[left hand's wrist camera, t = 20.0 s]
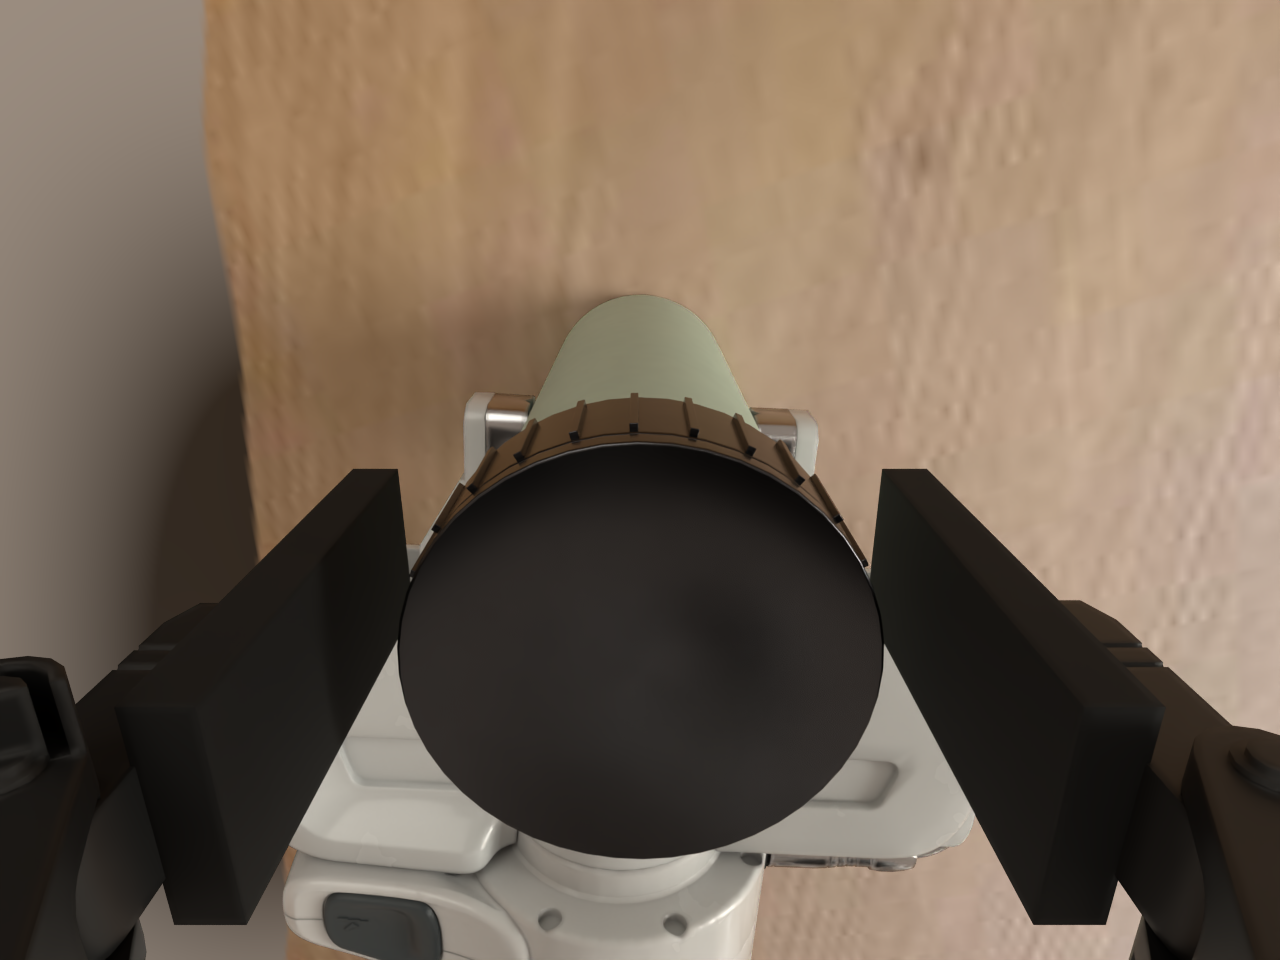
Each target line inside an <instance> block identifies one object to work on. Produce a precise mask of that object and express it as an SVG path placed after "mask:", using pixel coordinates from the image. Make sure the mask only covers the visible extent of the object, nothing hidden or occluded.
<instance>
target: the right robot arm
mask: <svg viewBox="0 0 1280 960" xmlns="http://www.w3.org/2000/svg"><path fill="white" fill-rule="evenodd" d="M534 403H535V396H529V395H515V394H501V393H495V392H475V393H474V394H473V395H472V397H471V398H470V399H469V401H468V402H467V403H466V408H465V414H464V423H463V430H464V473H463V475H462V477H461V478H460V480H459V482H458V483H457V485H456V486H455V488H454V490H455V489H456V487H457V486H458V484H459V483H461V484H463V485H465V484H466V483H467V481H468V480H469V479H470V478H471V476H472V475H473V474H474V473H475V472H476V470H477V468H478V467H479V465H480V463H481V461H482V460H483V458H484V456H485V454H486V453H487V451H488V450H489V449H490V448H491V447H492V446H493V447H494V448H495V449H496V450H497V449H498V448H499V447H500V446H502V445H503V444H504V443H505V442H507V441H508V440H510V439H511V438H512V437H514V436H515V435H517V434H518V433H520V432H521V431H522V428H523V426H524V424H525V422H526V420H527V418H528V416H529V414H530V412H531V410H532V408H533V406H534ZM749 410H750V412H751V414H752V416H753V418H754V420H755V422H756V424H757V426H758V429H759V431H760V432H761V433H763V434H765V435H766V436H768V437H769V438H771V439H772V440H774V441H775V442H776V443H777V442H778V440H779V439H781V440H782V441H783V442H784V443H785V444H786V446H787V447H788V449H789V451H790V453H791V455H792V456H793V458H794V459H795V460H796V461H797V462H798V463H799V464H800V465H801V467H802V468H803V469H804V470H805V471H806V472H807V473H808V475H809V476H810V477H811V476H812V475H814V469H815V462H816V455H817V448H818V440H819V439H818V425H817V421H816V420H815V419H814V417H813V416H812V415H811V414H810V412H809V411H808V410H794V409H776V408H752V407H750V408H749ZM454 490H453V491H452V493H451V495H452V494H453V492H454ZM451 495H450V496H449V498H448V500H449V499H450V497H451ZM448 500H447V501H446V503H445V505H446V504H447V502H448ZM445 505H444V506H443V508H442V510H443V509H444V507H445ZM442 510H441V511H440V513H439V514H438V516H437V518H436V519H435V521H434V523H433V524H432V526H431V528H430V529H429V531H428V533H427V534H426V536H425V537H424V539H423V541H422V542H421V544H420V545H412V544H406V546H407V555H408V564H409V573H410V572H411V569H412V568H413V566H414V564H415V563H416V561H417V559H418V558H419V556H420V554H421V552H422V551H423V549H424V547H425V546H426V544H427V542H428V541H429V539H430V537H431V536H432V534H433V532H434V531H432V530H431V529H432V527H433V525H434V524H435V522H436V520H437V519H438V517H439V515H440V514H441V512H442ZM865 570H866V572H867V574H868V576H869V579H870V573H871V568H865ZM411 580H412V577H410V582H411ZM397 642H398V640H397ZM397 642H396V644H395V646H394V648H393V650H392V652H391V654H390V655H389V657H388V659H387V661H386V663H385V665H384V667H383V669H382V670H381V672H380V674H379V676H378V678H377V680H376V682H375V684H374V686H373V687H372V689H371V691H370V693H369V695H368V697H367V699H366V701H365V703H364V704H363V706H362V708H361V710H360V712H359V714H358V716H357V718H356V719H355V721H354V723H353V725H352V727H351V729H350V731H349V733H348V735H347V736H346V738H345V740H344V742H343V744H342V746H341V748H340V750H339V752H338V753H337V755H336V757H335V759H334V761H333V763H332V765H331V767H330V768H329V770H328V772H327V774H326V776H325V778H324V780H323V782H322V784H321V785H320V787H319V789H318V791H317V793H316V795H315V797H314V799H313V800H312V802H311V804H310V806H309V808H308V810H307V812H306V814H305V816H304V817H303V819H302V821H301V823H300V825H299V827H298V829H297V831H296V833H295V834H294V836H293V838H292V840H291V842H290V844H289V846H290V847H292V848H294V849H296V850H297V852H296V855H295V858H294V860H293V863H292V866H291V869H290V872H289V875H288V878H287V881H286V884H285V887H284V890H283V901H282V903H283V912H284V917H285V920H286V923H287V925H288V927H289V928H290V929H291V931H293V932H294V933H295V934H296V935H297V936H299V937H300V938H302V939H304V940H306V941H308V942H311V943H314V944H316V945H320V946H323V947H327V948H330V949H334V950H337V951H341V952H345V953H348V954H352V955H356V956H359V957H362V958H366V959H369V960H751V955H752V948H753V942H754V935H755V928H756V921H757V914H758V906H759V900H760V894H761V887H762V880H763V873H764V869H765V868H766V866H768V867H773V866H774V867H792V868H827V867H828V868H831V867H836V866H837V867H842V866H855V867H868V869H870V870H875V871H884V872H895V871H904V870H908V869H912V868H914V866H915V864H916V860H917V858H922V857H928V856H931V855H934V854H937V853H939V852H941V851H943V850H945V849H947V848H949V847H955V846H958V845H960V844H962V843H963V841H964V840H965V839H966V838H967V836H968V835H969V833H970V831H971V829H972V826H973V822H974V818H975V814H974V812H973V810H972V808H971V806H970V804H969V802H968V800H967V799H966V797H965V795H964V793H963V791H962V789H961V787H960V785H959V784H958V782H957V780H956V778H955V776H954V774H953V772H952V770H951V768H950V767H949V765H948V763H947V761H946V759H945V757H944V755H943V753H942V752H941V750H940V748H939V746H938V744H937V742H936V740H935V738H934V736H933V735H932V733H931V731H930V729H929V727H928V725H927V723H926V721H925V719H924V718H923V716H922V714H921V712H920V710H919V708H918V706H917V704H916V703H915V701H914V699H913V697H912V695H911V693H910V691H909V689H908V687H907V686H906V684H905V682H904V680H903V678H902V676H901V674H900V672H899V670H898V669H897V667H896V665H895V663H894V661H893V659H892V657H891V655H890V654H889V652H888V650H887V648H886V646H885V644H884V665H883V674H882V679H881V684H880V690H879V695H878V699H877V702H876V705H875V707H874V710H873V713H872V716H871V719H870V722H869V724H868V726H867V728H866V730H865V732H864V734H863V736H862V738H861V740H860V742H859V744H858V745H857V747H856V749H855V750H854V752H853V753H852V754H851V756H850V757H849V759H848V760H847V762H846V763H845V764H844V766H843V767H842V769H841V770H840V771H839V772H838V773H837V774H836V775H835V776H834V778H833V779H832V780H831V781H830V782H829V783H828V784H827V785H826V786H825V787H824V788H823V789H822V790H821V791H820V792H819V793H818V794H817V795H815V796H814V797H813V798H812V799H811V800H810V801H808V802H807V803H806V804H805V805H804V806H803V807H801V808H800V809H798V810H797V811H795V812H794V813H792V814H791V815H789V816H788V817H786V818H785V819H783V820H782V821H780V822H779V823H777V824H775V825H773V826H771V827H769V828H767V829H765V830H763V831H762V832H760V833H758V834H756V835H754V836H751V837H749V838H746V839H743V840H741V841H738V842H736V843H733V844H731V845H728V846H724V847H721V848H717V849H713V850H710V851H706V852H702V853H698V854H691V855H685V856H679V857H673V858H658V859H622V858H610V857H603V856H596V855H589V854H584V853H580V852H576V851H572V850H568V849H564V848H560V847H557V846H554V845H551V844H549V843H546V842H543V841H540V840H538V839H535V838H532V837H530V836H528V835H526V834H524V833H522V832H520V831H518V830H516V829H514V828H512V827H510V826H508V825H506V824H504V823H503V822H501V821H500V820H498V819H497V818H495V817H494V816H492V815H490V814H489V813H487V812H486V811H484V810H483V809H482V808H480V807H479V806H478V805H477V804H475V803H474V802H473V801H472V800H471V799H469V798H468V797H467V796H466V795H464V794H463V793H462V792H461V791H460V790H459V789H458V788H457V787H456V786H455V785H454V784H453V782H452V781H451V780H450V779H449V778H448V777H447V776H446V775H445V774H444V773H443V772H442V770H441V769H440V768H439V766H438V765H437V764H436V762H435V761H434V760H433V758H432V757H431V755H430V754H429V753H428V751H427V750H426V748H425V746H424V744H423V742H422V741H421V739H420V737H419V735H418V733H417V731H416V730H415V728H414V725H413V723H412V720H411V717H410V715H409V712H408V709H407V707H406V704H405V701H404V696H403V692H402V687H401V682H400V678H399V670H398V654H397Z"/></svg>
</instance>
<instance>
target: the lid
mask: <svg viewBox="0 0 1280 960" xmlns="http://www.w3.org/2000/svg"><path fill="white" fill-rule="evenodd" d="M431 530H432V531H434V532H433V534H432V536H431V537H430V539H429V541H428V542H427V544H426V546H425V547H424V549H423V551H422V552H421V554H420V556H419V558H418V559H417V561H416V563H415V564H414V566H413V568H412V569H411V572H410V575H409V577H412V580H411V582H410V585H409V587H408V590H407V592H406V596H405V600H404V604H403V608H402V612H401V616H400V620H399V631H398V642H397V654H398V670H399V678H400V682H401V687H402V692H403V696H404V701H405V704H406V707H407V709H408V712H409V715H410V717H411V720H412V723H413V725H414V728H415V730H416V731H417V733H418V735H419V737H420V739H421V741H422V742H423V744H424V746H425V748H426V750H427V751H428V753H429V754H430V755H431V757H432V758H433V760H434V761H435V762H436V764H437V765H438V766H439V768H440V769H441V770H442V772H443V773H444V774H445V775H446V776H447V777H448V778H449V779H450V780H451V781H452V782H453V784H454V785H455V786H456V787H457V788H458V789H459V790H460V791H461V792H462V793H463V794H464V795H466V796H467V797H468V798H469V799H471V800H472V801H473V802H474V803H475V804H477V805H478V806H479V807H480V808H482V809H483V810H484V811H486V812H487V813H489V814H490V815H492V816H494V817H495V818H497V819H498V820H500V821H501V822H503V823H504V824H506V825H508V826H510V827H512V828H514V829H516V830H518V831H520V832H522V833H524V834H526V835H528V836H530V837H532V838H535V839H538V840H540V841H543V842H546V843H549V844H551V845H554V846H557V847H560V848H564V849H568V850H572V851H576V852H580V853H584V854H589V855H596V856H603V857H610V858H622V859H658V858H673V857H679V856H685V855H691V854H698V853H702V852H706V851H710V850H713V849H717V848H721V847H724V846H728V845H731V844H733V843H736V842H738V841H741V840H743V839H746V838H749V837H751V836H754V835H756V834H758V833H760V832H762V831H763V830H765V829H767V828H769V827H771V826H773V825H775V824H777V823H779V822H780V821H782V820H783V819H785V818H786V817H788V816H789V815H791V814H792V813H794V812H795V811H797V810H798V809H800V808H801V807H803V806H804V805H805V804H806V803H807V802H808V801H810V800H811V799H812V798H813V797H814V796H815V795H817V794H818V793H819V792H820V791H821V790H822V789H823V788H824V787H825V786H826V785H827V784H828V783H829V782H830V781H831V780H832V779H833V778H834V776H835V775H836V774H837V773H838V772H839V771H840V770H841V769H842V767H843V766H844V764H845V763H846V762H847V760H848V759H849V757H850V756H851V754H852V753H853V752H854V750H855V749H856V747H857V745H858V744H859V742H860V740H861V738H862V736H863V734H864V732H865V730H866V728H867V726H868V724H869V722H870V719H871V716H872V713H873V710H874V707H875V705H876V702H877V699H878V695H879V690H880V684H881V679H882V674H883V665H884V635H883V627H882V619H881V613H880V609H879V605H878V602H877V598H876V595H875V591H874V588H873V585H872V583H871V581H870V579H869V576H868V574H867V572H866V570H865V568H864V567H867V566H868V562H867V560H866V558H865V556H864V555H863V553H862V551H861V550H860V548H859V546H858V545H857V543H856V541H855V540H854V538H853V536H852V535H851V533H850V531H849V530H848V528H847V526H846V525H845V523H844V521H843V518H842V516H841V514H840V513H839V511H838V509H837V508H836V506H835V504H834V503H833V501H832V499H831V498H830V496H829V494H828V493H827V491H826V490H825V488H824V486H823V485H822V483H821V481H820V480H819V478H818V477H817V475H816V474H814V475H812V476H811V477H810V476H809V475H808V473H807V472H806V471H805V470H804V469H803V468H802V467H801V465H800V464H799V463H798V462H797V461H796V460H795V459H794V458H793V456H792V455H791V453H790V451H789V449H788V447H787V446H786V444H785V443H784V442H783V441H782V440H781V439H779V440H778V442H777V443H776V442H775V441H774V440H772V439H771V438H769V437H768V436H766V435H765V434H763V433H761V432H760V431H758V430H757V429H755V428H754V427H752V426H751V425H749V424H747V423H745V421H744V419H743V417H742V415H740V414H737V413H735V414H734V416H733V417H732V416H730V415H728V414H725V413H723V412H720V411H717V410H714V409H711V408H707V407H704V406H701V405H698V404H694V403H693V401H692V398H688V397H684V401H677V400H672V399H664V398H644V397H639V394H638V393H631V395H630V398H620V399H608V400H603V401H598V402H593V403H589V404H586V402H585V400H581V401H578V402H577V405H576V407H574V408H571V409H568V410H565V411H562V412H559V413H556V414H553V415H551V416H549V417H547V418H545V419H543V420H541V421H539V422H537V420H536V418H533V419H532V420H530V421H529V422H528V424H527V426H526V428H525V429H524V430H523V431H521V432H520V433H518V434H517V435H515V436H514V437H512V438H511V439H510V440H508V441H507V442H505V443H504V444H503V445H502V446H500V447H499V448H498V449H497V450H496V449H495V448H494V447H493V446H492V447H491V448H490V449H489V450H488V451H487V453H486V454H485V456H484V458H483V460H482V461H481V463H480V465H479V467H478V468H477V470H476V472H475V473H474V474H473V475H472V476H471V478H470V479H469V480H468V481H467V483H466V484H465V485H463V484H461V483H459V484H458V486H457V487H456V489H455V490H454V492H453V494H452V495H451V497H450V499H449V500H448V502H447V504H446V505H445V507H444V509H443V510H442V512H441V514H440V515H439V517H438V519H437V520H436V522H435V524H434V525H433V527H432V529H431Z"/></svg>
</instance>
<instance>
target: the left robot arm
mask: <svg viewBox="0 0 1280 960" xmlns="http://www.w3.org/2000/svg"><path fill="white" fill-rule="evenodd" d="M409 575H410V573H409V564H408V555H407V546H406V538H405V529H404V520H403V511H402V502H401V494H400V485H399V476H398V469H353V470H352V471H351V472H350V473H349V474H348V475H347V476H346V477H345V478H344V479H343V480H342V481H341V482H340V483H339V484H338V485H337V486H336V487H335V488H334V489H333V490H332V491H331V492H330V493H329V494H328V495H327V496H326V497H325V498H324V499H323V500H322V501H321V502H320V503H319V504H318V505H317V506H316V507H315V508H314V509H313V510H312V511H311V512H310V513H309V514H307V515H306V516H305V517H304V518H303V519H302V520H301V521H300V522H299V523H298V524H297V525H296V526H295V527H294V528H293V529H292V530H291V531H290V532H289V533H288V534H287V535H286V536H285V537H284V538H283V539H282V540H281V541H280V542H279V543H278V544H277V545H276V546H275V547H274V548H273V549H272V550H271V551H270V552H269V553H268V554H267V555H266V556H265V557H264V558H263V559H262V560H261V561H260V562H259V563H258V564H257V565H256V566H255V567H254V568H253V569H252V570H251V571H250V572H249V573H248V574H247V575H246V576H245V577H244V578H243V579H242V580H241V581H240V582H239V583H238V584H237V585H236V586H235V587H234V588H233V589H232V590H231V591H230V592H229V593H228V594H227V595H226V596H225V597H224V598H223V599H222V600H221V601H220V602H219V603H200V604H198V605H196V606H194V607H192V608H190V609H189V610H187V611H185V612H183V613H181V614H179V615H177V616H176V617H174V618H172V619H170V620H168V621H166V622H165V623H163V624H162V625H161V626H160V627H159V628H158V629H157V630H156V631H155V632H153V633H152V634H151V635H150V636H149V637H148V638H147V639H146V640H145V641H144V642H143V643H141V644H140V645H139V650H137V651H136V650H134V651H133V652H132V653H131V654H130V655H128V656H127V657H126V658H125V659H124V660H123V661H122V662H121V663H120V664H119V665H118V670H112V671H111V672H110V673H109V674H108V675H107V676H106V677H105V678H104V679H102V680H101V681H100V682H99V683H98V684H97V685H96V686H95V687H94V688H93V689H92V690H91V691H89V692H88V693H87V694H86V695H85V696H84V697H83V698H82V699H81V700H80V701H79V702H78V703H76V704H75V701H74V698H73V695H72V691H71V688H70V685H69V681H68V678H67V675H66V671H65V668H64V666H62V665H61V664H59V663H58V662H56V661H54V660H53V659H51V658H42V657H32V656H25V657H16V658H6V659H0V960H145V957H146V947H145V940H144V934H143V931H142V927H141V924H140V920H139V917H140V916H141V914H142V913H143V911H144V910H145V908H146V907H147V905H148V904H149V902H150V901H151V899H152V898H153V896H154V895H155V894H156V892H157V891H158V889H159V888H160V886H161V885H162V883H163V886H164V890H165V893H166V897H167V900H168V904H169V908H170V911H171V915H172V918H173V922H174V925H247V923H248V921H249V919H250V917H251V915H252V914H253V912H254V910H255V908H256V906H257V904H258V902H259V900H260V898H261V896H262V895H263V893H264V891H265V889H266V887H267V885H268V883H269V882H270V880H271V878H272V876H273V874H274V872H275V870H276V868H277V866H278V865H279V863H280V861H281V859H282V857H283V855H284V853H285V851H286V849H287V848H288V846H289V844H290V842H291V840H292V838H293V836H294V834H295V833H296V831H297V829H298V827H299V825H300V823H301V821H302V819H303V817H304V816H305V814H306V812H307V810H308V808H309V806H310V804H311V802H312V800H313V799H314V797H315V795H316V793H317V791H318V789H319V787H320V785H321V784H322V782H323V780H324V778H325V776H326V774H327V772H328V770H329V768H330V767H331V765H332V763H333V761H334V759H335V757H336V755H337V753H338V752H339V750H340V748H341V746H342V744H343V742H344V740H345V738H346V736H347V735H348V733H349V731H350V729H351V727H352V725H353V723H354V721H355V719H356V718H357V716H358V714H359V712H360V710H361V708H362V706H363V704H364V703H365V701H366V699H367V697H368V695H369V693H370V691H371V689H372V687H373V686H374V684H375V682H376V680H377V678H378V676H379V674H380V672H381V670H382V669H383V667H384V665H385V663H386V661H387V659H388V657H389V655H390V654H391V652H392V650H393V648H394V646H395V644H396V642H397V640H398V631H399V620H400V616H401V612H402V608H403V604H404V600H405V596H406V592H407V590H408V587H409V585H410V577H409ZM870 581H871V583H872V585H873V588H874V591H875V595H876V598H877V602H878V605H879V609H880V613H881V619H882V627H883V635H884V644H885V646H886V648H887V650H888V652H889V654H890V655H891V657H892V659H893V661H894V663H895V665H896V667H897V669H898V670H899V672H900V674H901V676H902V678H903V680H904V682H905V684H906V686H907V687H908V689H909V691H910V693H911V695H912V697H913V699H914V701H915V703H916V704H917V706H918V708H919V710H920V712H921V714H922V716H923V718H924V719H925V721H926V723H927V725H928V727H929V729H930V731H931V733H932V735H933V736H934V738H935V740H936V742H937V744H938V746H939V748H940V750H941V752H942V753H943V755H944V757H945V759H946V761H947V763H948V765H949V767H950V768H951V770H952V772H953V774H954V776H955V778H956V780H957V782H958V784H959V785H960V787H961V789H962V791H963V793H964V795H965V797H966V799H967V800H968V802H969V804H970V806H971V808H972V810H973V812H974V814H975V816H976V817H977V819H978V821H979V823H980V825H981V827H982V829H983V831H984V833H985V834H986V836H987V838H988V840H989V842H990V844H991V846H992V848H993V849H994V851H995V853H996V855H997V857H998V859H999V861H1000V863H1001V865H1002V866H1003V868H1004V870H1005V872H1006V874H1007V876H1008V878H1009V880H1010V882H1011V883H1012V885H1013V887H1014V889H1015V891H1016V893H1017V895H1018V897H1019V898H1020V900H1021V902H1022V904H1023V906H1024V908H1025V910H1026V912H1027V914H1028V915H1029V917H1030V919H1031V921H1032V923H1033V925H1106V922H1107V918H1108V915H1109V911H1110V908H1111V904H1112V900H1113V897H1114V893H1115V890H1116V886H1117V882H1118V881H1119V882H1120V883H1121V885H1122V886H1123V888H1124V889H1125V891H1126V892H1127V894H1128V895H1129V897H1130V898H1131V900H1132V901H1133V902H1134V904H1135V905H1136V907H1137V908H1138V910H1139V911H1140V913H1141V914H1142V917H1141V920H1140V924H1139V927H1138V930H1137V934H1136V937H1135V941H1134V944H1133V947H1132V951H1131V954H1130V957H1129V960H1280V735H1277V734H1274V733H1270V732H1267V731H1264V730H1260V729H1254V728H1246V727H1239V726H1232V725H1231V724H1230V723H1229V722H1228V721H1227V720H1225V719H1224V718H1223V717H1222V716H1221V715H1220V714H1219V713H1218V712H1217V711H1216V710H1214V709H1213V708H1212V707H1211V706H1210V705H1209V704H1208V703H1207V702H1206V701H1205V700H1204V699H1202V698H1201V697H1200V696H1199V695H1198V694H1197V693H1196V692H1195V691H1194V690H1193V689H1192V688H1190V687H1189V686H1188V685H1187V684H1186V683H1185V682H1184V681H1183V680H1182V679H1181V678H1180V677H1178V676H1177V675H1176V674H1175V673H1174V672H1173V671H1172V670H1171V669H1170V668H1169V667H1163V662H1162V661H1161V660H1160V659H1159V658H1158V657H1157V656H1156V655H1154V654H1153V653H1152V652H1151V651H1150V650H1149V649H1148V648H1142V643H1141V642H1140V641H1139V640H1138V639H1137V638H1136V637H1135V636H1134V635H1133V634H1132V633H1130V632H1129V631H1128V630H1127V629H1126V628H1125V627H1124V626H1123V625H1122V624H1121V623H1119V622H1118V621H1117V620H1116V619H1114V618H1112V617H1110V616H1108V615H1106V614H1105V613H1103V612H1101V611H1099V610H1097V609H1095V608H1093V607H1092V606H1090V605H1088V604H1086V603H1084V602H1082V601H1080V600H1058V599H1057V598H1056V597H1055V596H1054V595H1053V594H1052V593H1051V592H1050V591H1049V590H1048V589H1047V588H1046V587H1045V586H1044V585H1043V584H1042V583H1041V582H1040V581H1039V580H1038V579H1037V578H1036V577H1035V576H1034V575H1033V574H1032V573H1031V572H1030V571H1029V570H1028V569H1027V568H1026V567H1025V566H1024V565H1023V564H1022V563H1021V562H1020V561H1019V560H1018V559H1017V558H1016V557H1015V556H1014V555H1013V554H1012V553H1011V552H1010V551H1009V550H1008V549H1007V548H1006V547H1005V546H1004V545H1003V544H1002V543H1001V542H1000V541H999V540H998V539H997V538H996V537H995V536H994V535H993V534H992V533H991V532H990V531H989V530H988V529H987V528H986V527H985V526H984V525H983V524H982V523H981V522H980V521H979V520H978V519H977V518H976V517H975V516H974V515H972V514H971V513H970V512H969V511H968V510H967V509H966V508H965V507H964V506H963V505H962V504H961V503H960V502H959V501H958V500H957V499H956V498H955V497H954V496H953V495H952V494H951V493H950V492H949V491H948V490H947V489H946V488H945V487H944V486H943V485H942V484H941V483H940V482H939V481H938V480H937V479H936V478H935V477H934V476H933V475H932V474H931V473H930V472H929V471H928V470H927V469H882V476H881V485H880V494H879V502H878V511H877V520H876V529H875V538H874V546H873V555H872V564H871V573H870Z"/></svg>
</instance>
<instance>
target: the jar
mask: <svg viewBox="0 0 1280 960" xmlns="http://www.w3.org/2000/svg"><path fill="white" fill-rule="evenodd" d="M631 393H638V394H639V397H644V398H664V399H672V400H677V401H684V397H688V398H692V401H693V403H694V404H698V405H701V406H704V407H707V408H711V409H714V410H717V411H720V412H723V413H725V414H728V415H730V416H732V417H733V416H734V414H735V413H737V414H740V415H742V417H743V419H744V421H745V423H747V424H749V425H751V426H752V427H754V428H755V429H757V430H758V431H759V429H758V426H757V424H756V422H755V420H754V418H753V416H752V414H751V412H750V410H749V408H748V406H747V404H746V402H745V400H744V398H743V395H742V393H741V391H740V389H739V387H738V385H737V383H736V381H735V379H734V377H733V375H732V373H731V371H730V369H729V367H728V364H727V362H726V360H725V358H724V356H723V354H722V352H721V350H720V348H719V346H718V344H717V342H716V340H715V338H714V337H713V335H712V333H711V332H710V330H709V329H708V328H707V326H706V325H705V324H704V323H703V322H702V321H701V320H700V319H699V318H698V317H697V316H696V315H695V314H694V313H692V312H691V311H690V310H688V309H687V308H685V307H683V306H682V305H680V304H678V303H676V302H673V301H671V300H668V299H665V298H661V297H657V296H651V295H630V296H623V297H619V298H616V299H612V300H609V301H607V302H605V303H603V304H600V305H599V306H597V307H595V308H594V309H592V310H591V311H589V312H588V313H587V314H586V315H584V316H583V317H582V318H581V319H580V320H579V321H578V322H577V323H576V324H575V326H574V327H573V328H572V330H571V331H570V332H569V334H568V335H567V337H566V339H565V341H564V343H563V345H562V347H561V349H560V351H559V353H558V355H557V358H556V360H555V362H554V364H553V366H552V368H551V370H550V372H549V374H548V376H547V378H546V380H545V383H544V385H543V387H542V389H541V391H540V393H539V395H538V397H537V399H536V401H535V403H534V406H533V408H532V410H531V412H530V414H529V416H528V418H527V420H526V422H525V424H524V426H523V428H522V431H523V430H524V429H525V428H526V426H527V424H528V422H529V421H530V420H532V419H533V418H536V420H537V422H539V421H541V420H543V419H545V418H547V417H549V416H551V415H553V414H556V413H559V412H562V411H565V410H568V409H571V408H574V407H576V405H577V402H578V401H581V400H585V402H586V404H589V403H593V402H598V401H603V400H608V399H620V398H630V395H631Z"/></svg>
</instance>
